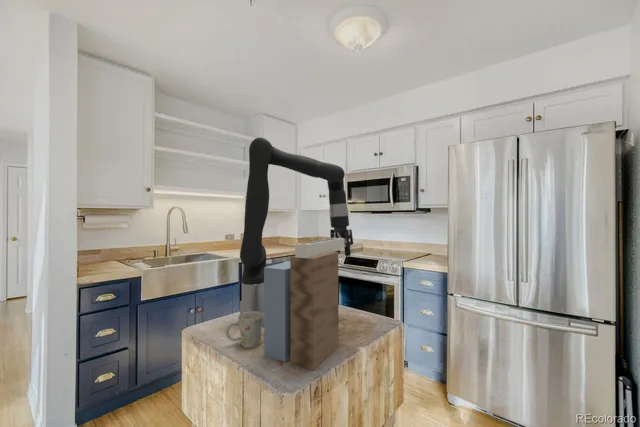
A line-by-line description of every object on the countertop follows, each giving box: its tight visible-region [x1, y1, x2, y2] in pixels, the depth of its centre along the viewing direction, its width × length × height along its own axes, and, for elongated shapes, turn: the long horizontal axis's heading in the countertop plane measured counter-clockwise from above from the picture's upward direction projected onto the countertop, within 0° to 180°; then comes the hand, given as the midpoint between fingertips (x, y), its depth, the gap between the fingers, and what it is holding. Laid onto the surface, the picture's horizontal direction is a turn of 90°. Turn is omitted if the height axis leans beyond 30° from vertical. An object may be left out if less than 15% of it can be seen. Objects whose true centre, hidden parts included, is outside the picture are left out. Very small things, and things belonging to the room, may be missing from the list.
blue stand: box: [263, 260, 290, 363], centre depth 98 cm, size 8×17×28 cm, turn 152°
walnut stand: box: [289, 252, 340, 371], centre depth 93 cm, size 8×17×32 cm, turn 152°
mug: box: [224, 311, 263, 349], centre depth 100 cm, size 8×13×10 cm, turn 107°
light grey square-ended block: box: [294, 237, 345, 258], centre depth 97 cm, size 4×26×4 cm, turn 152°
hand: (342, 254), depth 120 cm, fingers open, 8 cm apart
